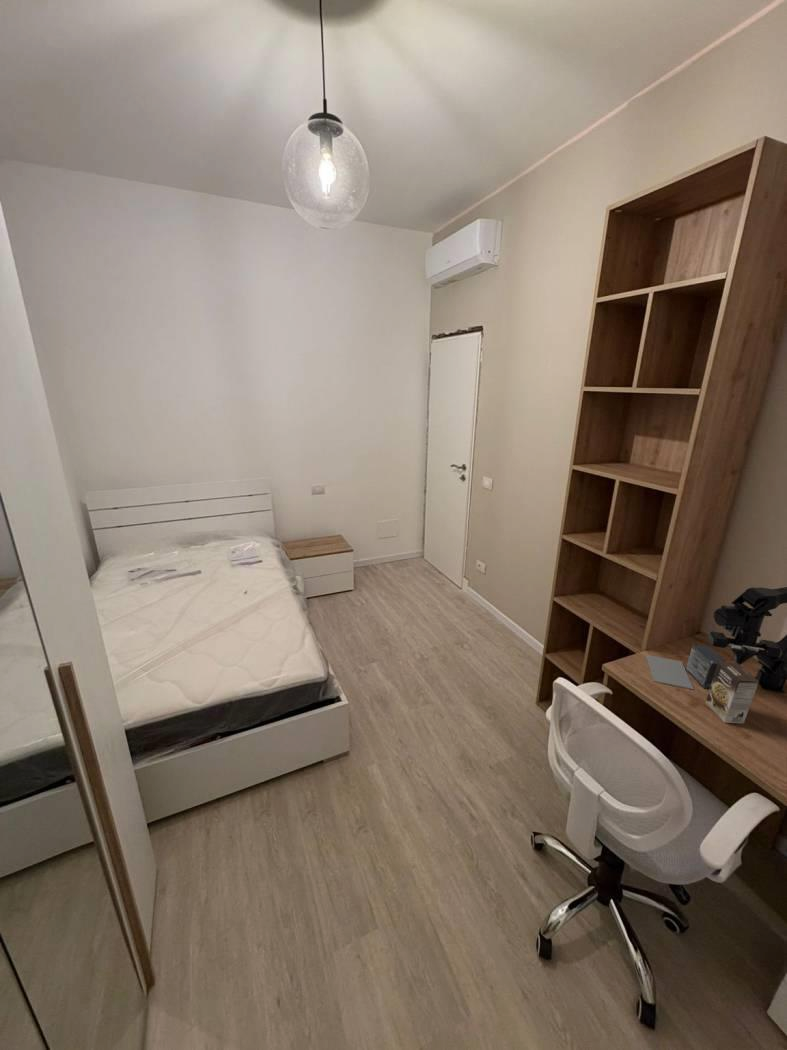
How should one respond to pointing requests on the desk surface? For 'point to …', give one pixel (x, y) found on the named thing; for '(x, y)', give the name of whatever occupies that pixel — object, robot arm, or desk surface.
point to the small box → (703, 664)
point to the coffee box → (731, 692)
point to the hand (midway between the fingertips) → (736, 664)
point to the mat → (669, 672)
